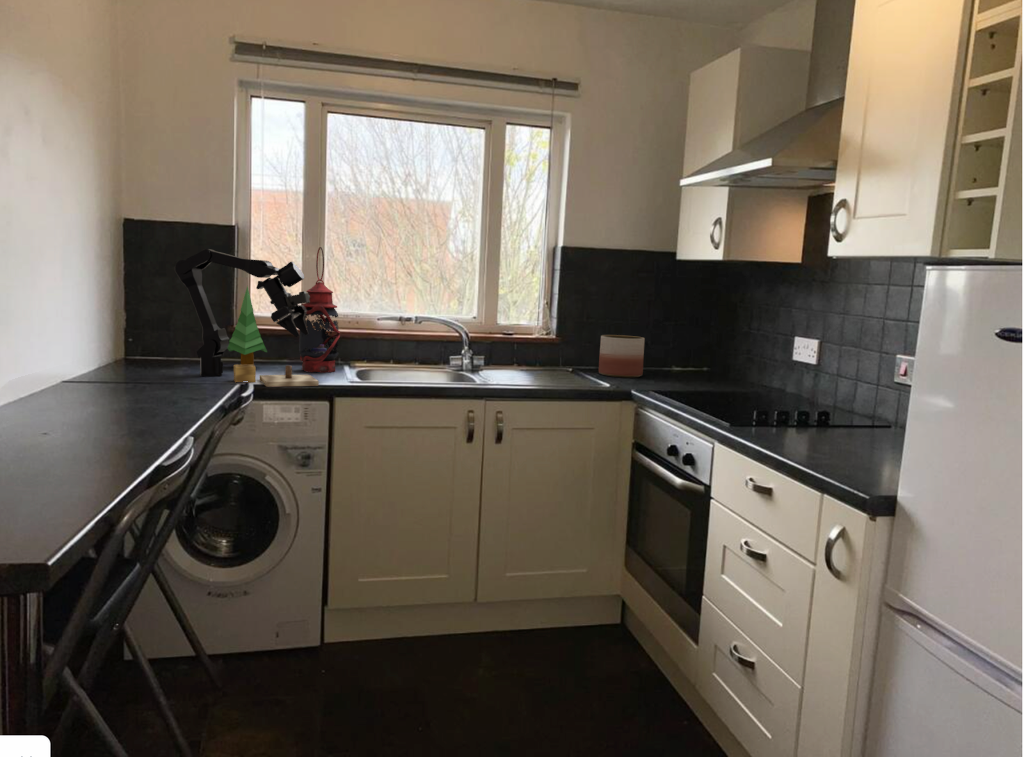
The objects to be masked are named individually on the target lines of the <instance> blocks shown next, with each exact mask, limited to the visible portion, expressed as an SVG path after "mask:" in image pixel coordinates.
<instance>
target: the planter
mask: <svg viewBox="0 0 1024 757" xmlns="http://www.w3.org/2000/svg"><path fill="white" fill-rule="evenodd" d="M599 345H600V346H599V359H598V373H599V374H600V375H602V376H606V377H611V378H627V379H628V378H629V379H630V378H632V379H633V378H634V379H635V378H639V377H642V376H643V372H644V357H645V355H644V354H645V337H641V336H633V335H623V334H621V335H620V334H618V335H617V334H602V335H600V344H599Z"/></svg>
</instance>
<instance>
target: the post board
mask: <svg viewBox="0 0 1024 757" xmlns="http://www.w3.org/2000/svg"><path fill="white" fill-rule="evenodd" d="M284 369H285V370H284V371H285V374H263V375H262V374H260V375H259V377H258V378H259V381H260V382H261V381H262V382H263V383H264V384H263V383H262V382H261V383H262V384H263V385H264V386H265V387H269V388H272V387H274V388H275V387H317V386H319V385H320V384H319V383H320V382H319V380H318V379H316V378H314V376H312V375H310V374H293V366H292V365H290V364H289V365H285V368H284Z"/></svg>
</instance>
